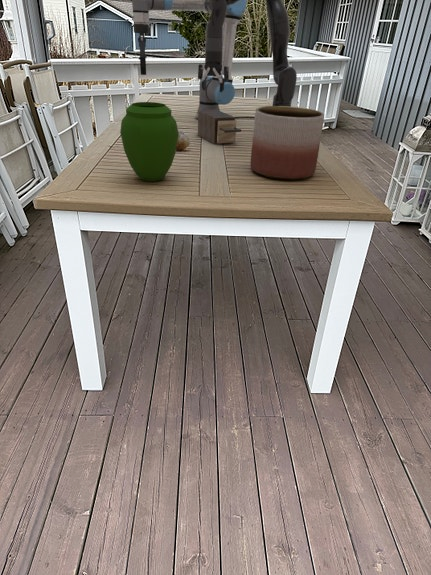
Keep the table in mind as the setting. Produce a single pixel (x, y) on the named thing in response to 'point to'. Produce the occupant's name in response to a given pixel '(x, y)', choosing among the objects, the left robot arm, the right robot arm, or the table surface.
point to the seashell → (182, 141)
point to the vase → (149, 139)
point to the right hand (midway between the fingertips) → (212, 91)
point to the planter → (286, 142)
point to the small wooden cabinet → (210, 123)
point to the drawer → (226, 131)
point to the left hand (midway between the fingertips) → (143, 73)
